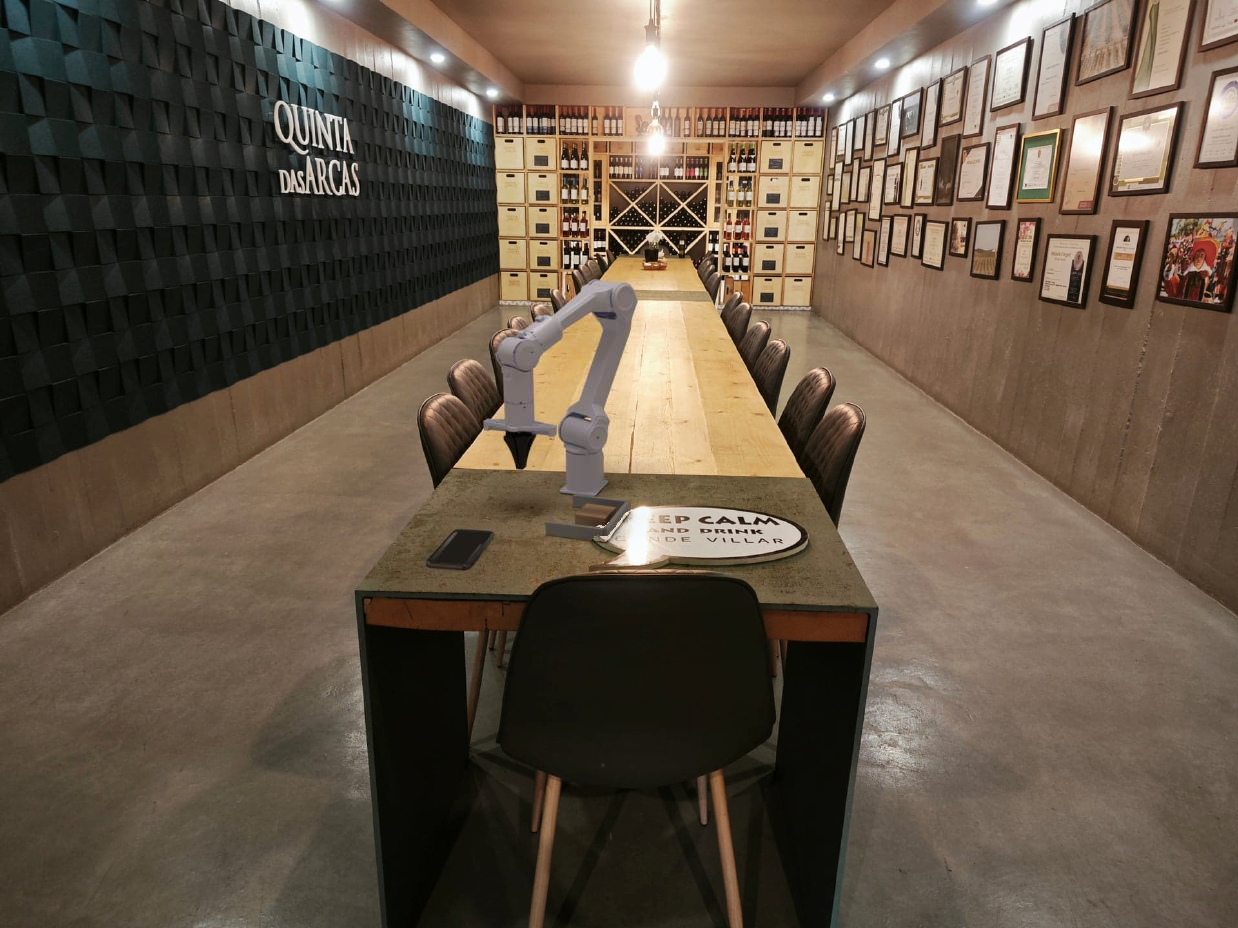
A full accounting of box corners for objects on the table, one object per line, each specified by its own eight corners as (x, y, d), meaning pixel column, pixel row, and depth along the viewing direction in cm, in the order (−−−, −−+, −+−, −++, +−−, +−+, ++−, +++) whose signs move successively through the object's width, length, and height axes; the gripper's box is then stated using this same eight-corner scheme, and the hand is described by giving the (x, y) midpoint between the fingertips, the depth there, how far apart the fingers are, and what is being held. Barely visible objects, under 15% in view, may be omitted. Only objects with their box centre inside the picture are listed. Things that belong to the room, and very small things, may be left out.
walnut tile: (586, 517, 153) (586, 503, 152) (615, 521, 151) (615, 507, 151) (575, 528, 148) (575, 514, 147) (605, 533, 146) (605, 518, 145)
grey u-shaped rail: (574, 505, 159) (574, 494, 158) (630, 512, 155) (630, 500, 155) (545, 534, 144) (545, 522, 144) (606, 542, 141) (606, 530, 140)
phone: (423, 563, 131) (455, 528, 145) (424, 569, 131) (455, 534, 145) (469, 566, 130) (496, 531, 144) (469, 572, 130) (496, 536, 144)
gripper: (475, 402, 149) (478, 470, 153) (546, 408, 145) (548, 478, 149) (491, 394, 155) (494, 459, 159) (560, 400, 151) (561, 466, 155)
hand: (521, 468), depth 155 cm, fingers closed
